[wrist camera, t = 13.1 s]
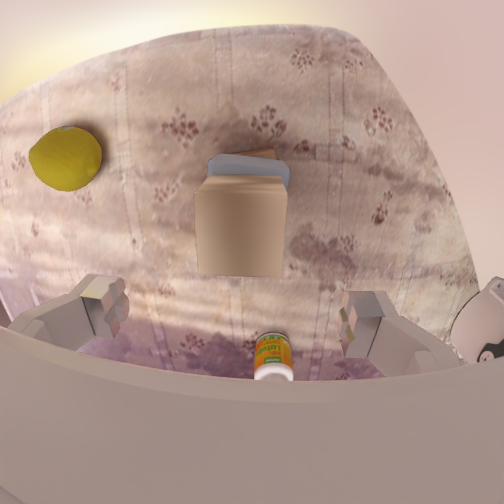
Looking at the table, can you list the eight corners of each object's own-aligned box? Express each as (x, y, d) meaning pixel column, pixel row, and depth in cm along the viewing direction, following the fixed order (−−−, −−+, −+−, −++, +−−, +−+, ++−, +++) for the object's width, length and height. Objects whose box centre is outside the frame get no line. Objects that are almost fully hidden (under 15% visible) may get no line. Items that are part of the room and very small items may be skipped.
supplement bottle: (281, 326, 41) (285, 376, 32) (295, 349, 43) (301, 397, 34) (249, 339, 42) (246, 388, 34) (265, 360, 44) (265, 408, 36)
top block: (283, 160, 26) (290, 170, 20) (274, 221, 28) (278, 245, 23) (219, 153, 25) (208, 161, 20) (214, 213, 28) (202, 236, 23)
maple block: (280, 175, 20) (287, 194, 15) (276, 238, 22) (282, 277, 17) (211, 174, 20) (193, 193, 15) (213, 237, 23) (198, 274, 17)
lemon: (124, 139, 30) (89, 146, 23) (104, 194, 33) (70, 214, 26) (64, 113, 28) (25, 116, 21) (48, 165, 31) (11, 178, 24)
